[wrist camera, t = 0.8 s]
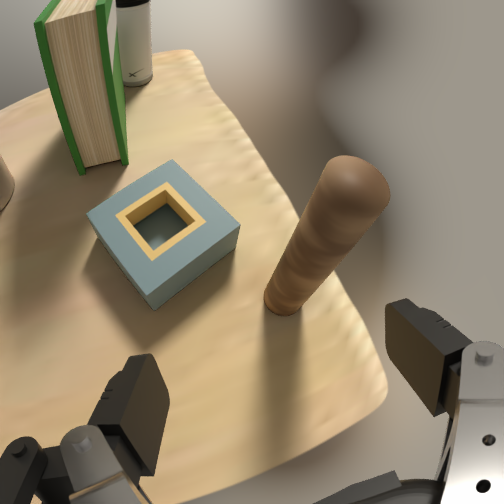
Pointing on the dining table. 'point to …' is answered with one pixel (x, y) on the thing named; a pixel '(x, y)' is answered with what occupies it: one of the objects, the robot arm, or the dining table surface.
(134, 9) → the travel mug
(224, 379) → the dining table surface
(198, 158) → the dining table surface
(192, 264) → the socket block
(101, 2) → the hardback book
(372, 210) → the peg
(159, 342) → the dining table surface
